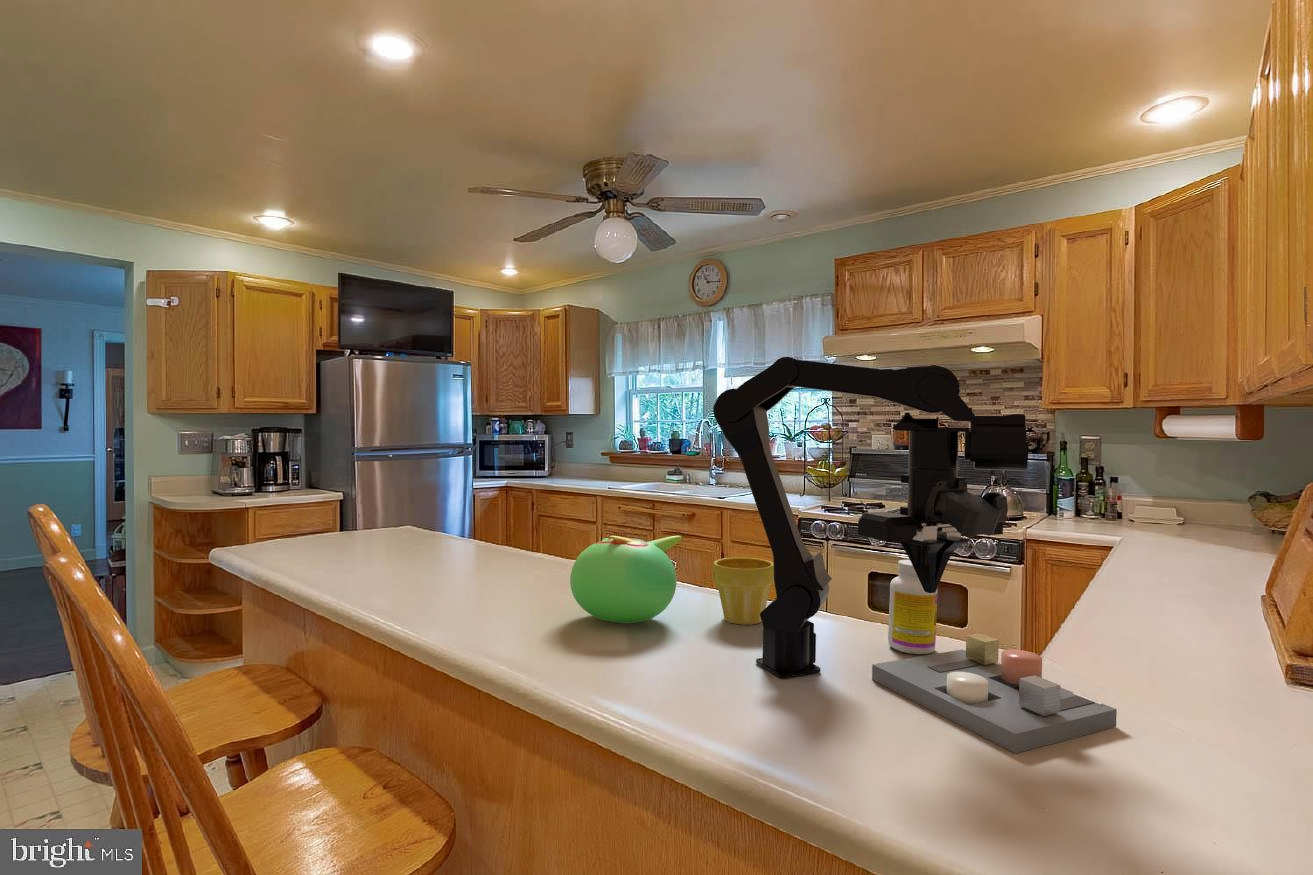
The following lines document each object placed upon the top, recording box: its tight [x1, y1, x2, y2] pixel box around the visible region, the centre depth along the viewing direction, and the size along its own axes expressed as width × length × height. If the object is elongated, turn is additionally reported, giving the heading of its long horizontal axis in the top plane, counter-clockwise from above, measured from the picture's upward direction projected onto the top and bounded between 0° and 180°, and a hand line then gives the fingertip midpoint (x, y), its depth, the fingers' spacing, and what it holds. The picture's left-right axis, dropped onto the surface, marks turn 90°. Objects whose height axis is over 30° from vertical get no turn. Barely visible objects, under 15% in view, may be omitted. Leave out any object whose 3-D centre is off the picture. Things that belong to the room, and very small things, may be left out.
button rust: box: [1000, 648, 1043, 685], centre depth 81 cm, size 4×4×3 cm
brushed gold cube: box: [965, 633, 1000, 665], centre depth 88 cm, size 2×3×3 cm
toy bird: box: [569, 535, 683, 624], centre depth 112 cm, size 18×17×15 cm
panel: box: [871, 649, 1118, 754], centre depth 80 cm, size 16×21×2 cm
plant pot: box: [712, 557, 775, 626], centre depth 113 cm, size 10×10×10 cm
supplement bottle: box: [887, 559, 938, 655], centre depth 99 cm, size 7×7×13 cm
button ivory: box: [947, 672, 988, 705], centre depth 78 cm, size 4×4×3 cm
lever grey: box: [1018, 675, 1061, 716], centre depth 73 cm, size 2×3×3 cm
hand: (929, 592), depth 83 cm, fingers closed
